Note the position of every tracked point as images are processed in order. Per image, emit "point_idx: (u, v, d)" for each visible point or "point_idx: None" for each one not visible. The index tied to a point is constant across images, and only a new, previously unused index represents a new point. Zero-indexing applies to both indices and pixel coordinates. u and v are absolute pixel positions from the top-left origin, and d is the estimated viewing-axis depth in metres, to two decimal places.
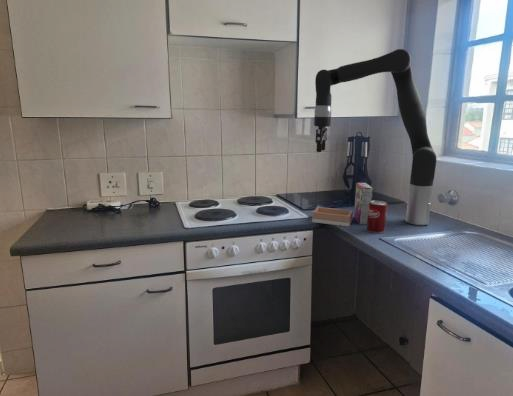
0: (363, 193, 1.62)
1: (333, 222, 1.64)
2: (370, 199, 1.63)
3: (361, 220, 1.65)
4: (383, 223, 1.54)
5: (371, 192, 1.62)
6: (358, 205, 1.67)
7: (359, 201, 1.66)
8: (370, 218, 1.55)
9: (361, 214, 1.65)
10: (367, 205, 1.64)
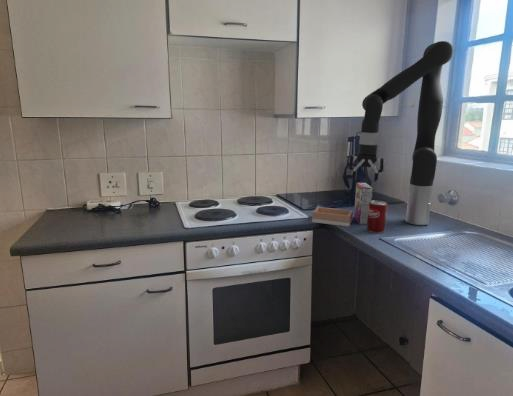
0: (363, 193, 1.62)
1: (333, 222, 1.64)
2: (370, 199, 1.63)
3: (361, 220, 1.65)
4: (383, 223, 1.54)
5: (371, 192, 1.62)
6: (358, 205, 1.67)
7: (359, 201, 1.66)
8: (370, 218, 1.55)
9: (361, 214, 1.65)
10: (367, 205, 1.64)
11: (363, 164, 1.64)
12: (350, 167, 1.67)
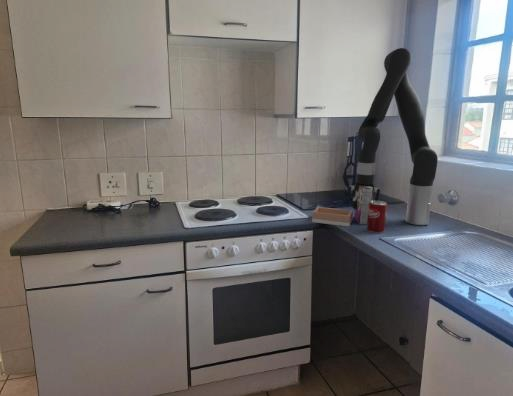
0: (363, 193, 1.62)
1: (333, 222, 1.64)
2: (370, 199, 1.63)
3: (361, 220, 1.65)
4: (383, 223, 1.54)
5: (371, 192, 1.62)
6: (358, 205, 1.67)
7: (359, 201, 1.66)
8: (370, 218, 1.55)
9: (361, 214, 1.65)
10: (367, 205, 1.64)
11: None
12: (350, 197, 1.69)
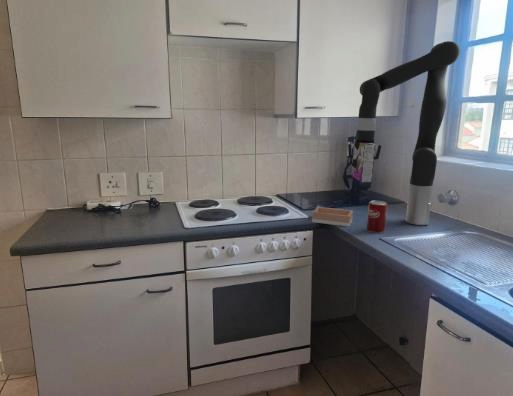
0: (365, 149, 1.58)
1: (333, 222, 1.64)
2: (372, 155, 1.59)
3: (363, 178, 1.61)
4: (383, 223, 1.54)
5: (373, 148, 1.58)
6: (359, 163, 1.63)
7: (360, 159, 1.61)
8: (370, 218, 1.55)
9: (363, 172, 1.60)
10: (369, 162, 1.59)
11: None
12: (350, 155, 1.64)
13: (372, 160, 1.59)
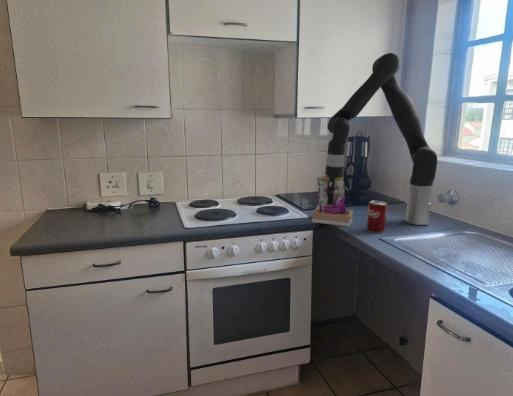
0: (343, 181, 1.64)
1: (333, 222, 1.64)
2: None
3: None
4: (383, 223, 1.54)
5: None
6: (336, 197, 1.65)
7: (338, 192, 1.64)
8: (370, 218, 1.55)
9: None
10: None
11: None
12: (333, 193, 1.61)
13: None
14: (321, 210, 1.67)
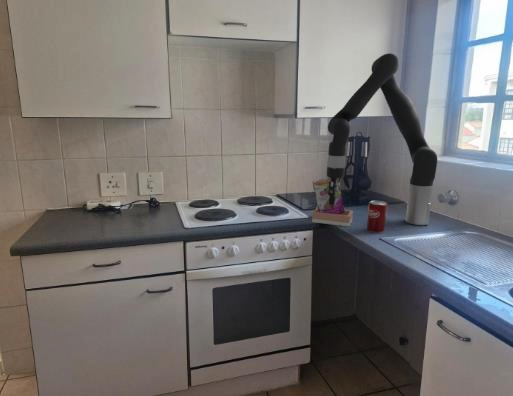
0: (338, 183, 1.64)
1: (333, 222, 1.64)
2: None
3: (343, 208, 1.67)
4: (383, 223, 1.54)
5: None
6: None
7: None
8: (370, 218, 1.55)
9: (342, 203, 1.66)
10: None
11: None
12: (334, 193, 1.60)
13: None
14: None
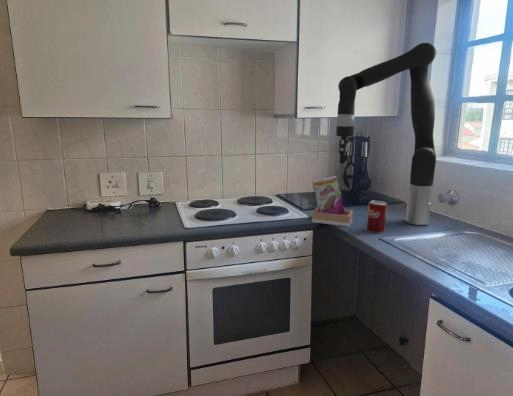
0: (338, 183, 1.64)
1: (333, 222, 1.64)
2: None
3: (343, 208, 1.67)
4: (383, 223, 1.54)
5: None
6: (333, 198, 1.65)
7: (334, 194, 1.64)
8: (370, 218, 1.55)
9: (342, 203, 1.66)
10: None
11: None
12: (345, 151, 1.61)
13: None
14: None
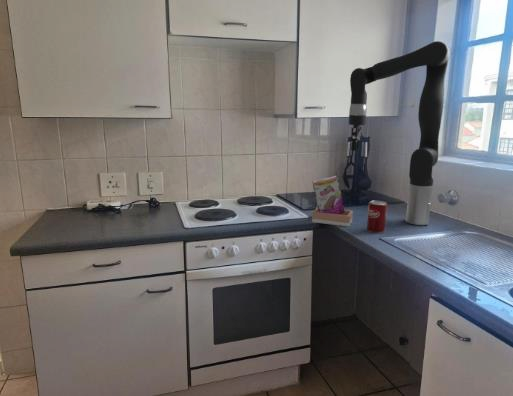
0: (338, 183, 1.63)
1: (333, 222, 1.64)
2: None
3: (343, 208, 1.67)
4: (383, 223, 1.54)
5: None
6: (333, 198, 1.65)
7: (334, 194, 1.64)
8: (370, 218, 1.55)
9: (342, 203, 1.66)
10: None
11: None
12: (356, 139, 1.71)
13: None
14: None
